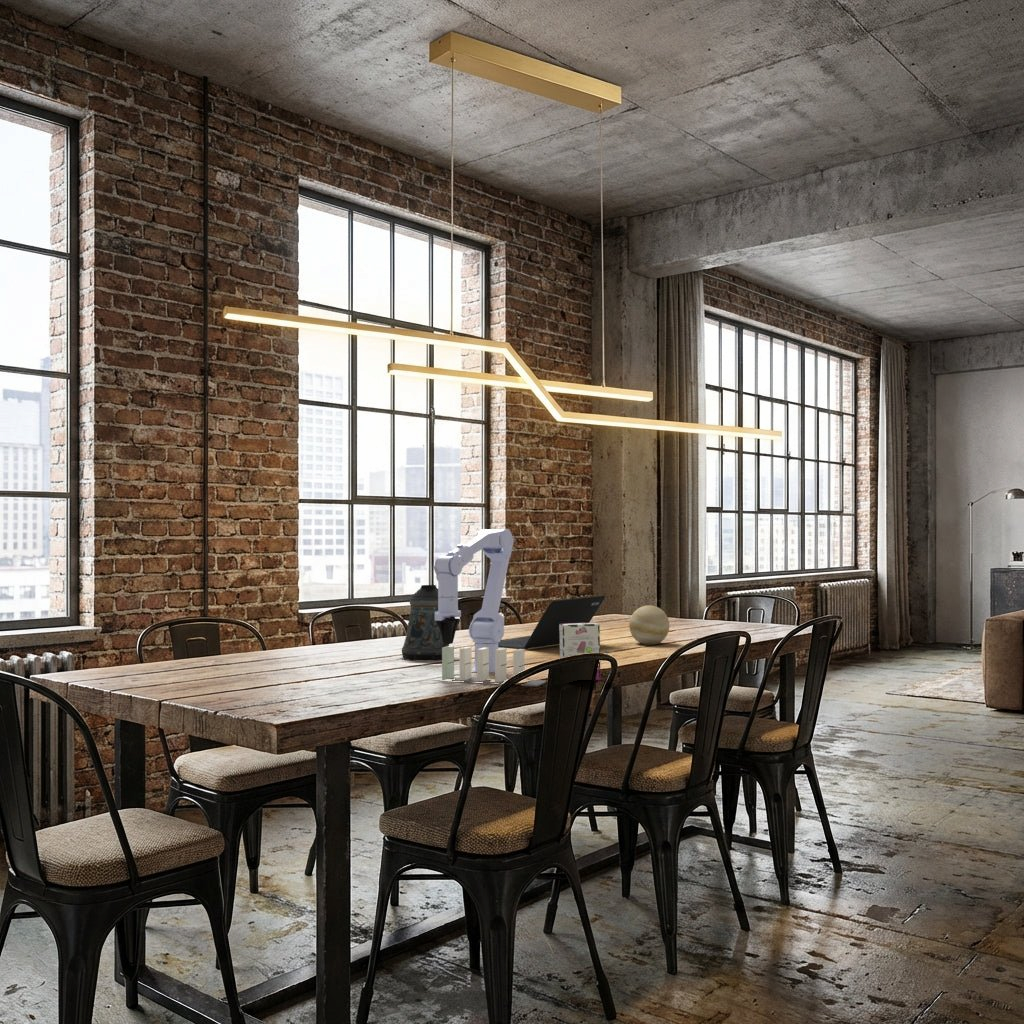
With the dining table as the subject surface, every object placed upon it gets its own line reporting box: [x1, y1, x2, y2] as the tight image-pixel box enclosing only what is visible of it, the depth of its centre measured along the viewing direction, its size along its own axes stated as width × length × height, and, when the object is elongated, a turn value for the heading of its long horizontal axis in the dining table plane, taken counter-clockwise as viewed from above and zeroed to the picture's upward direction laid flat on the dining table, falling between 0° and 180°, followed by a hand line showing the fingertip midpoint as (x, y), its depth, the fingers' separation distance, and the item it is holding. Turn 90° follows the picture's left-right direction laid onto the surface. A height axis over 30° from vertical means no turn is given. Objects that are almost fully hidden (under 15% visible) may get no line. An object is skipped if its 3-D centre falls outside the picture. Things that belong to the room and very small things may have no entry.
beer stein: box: [401, 584, 450, 661], centre depth 349 cm, size 16×19×25 cm
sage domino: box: [441, 645, 455, 679], centre depth 301 cm, size 2×5×9 cm, turn 160°
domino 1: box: [459, 646, 473, 680], centre depth 299 cm, size 2×5×9 cm, turn 159°
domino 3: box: [494, 647, 508, 682], centre depth 296 cm, size 2×5×9 cm, turn 160°
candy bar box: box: [559, 622, 601, 681], centre depth 299 cm, size 11×5×16 cm, turn 101°
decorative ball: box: [628, 604, 670, 646], centre depth 389 cm, size 15×15×15 cm
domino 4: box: [512, 649, 526, 676], centre depth 294 cm, size 2×5×9 cm, turn 159°
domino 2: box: [476, 647, 490, 681], centre depth 297 cm, size 2×5×9 cm, turn 159°
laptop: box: [474, 594, 606, 650], centre depth 387 cm, size 33×38×19 cm
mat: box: [452, 676, 547, 687], centre depth 297 cm, size 36×9×1 cm, turn 69°
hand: (448, 643), depth 301 cm, fingers closed
